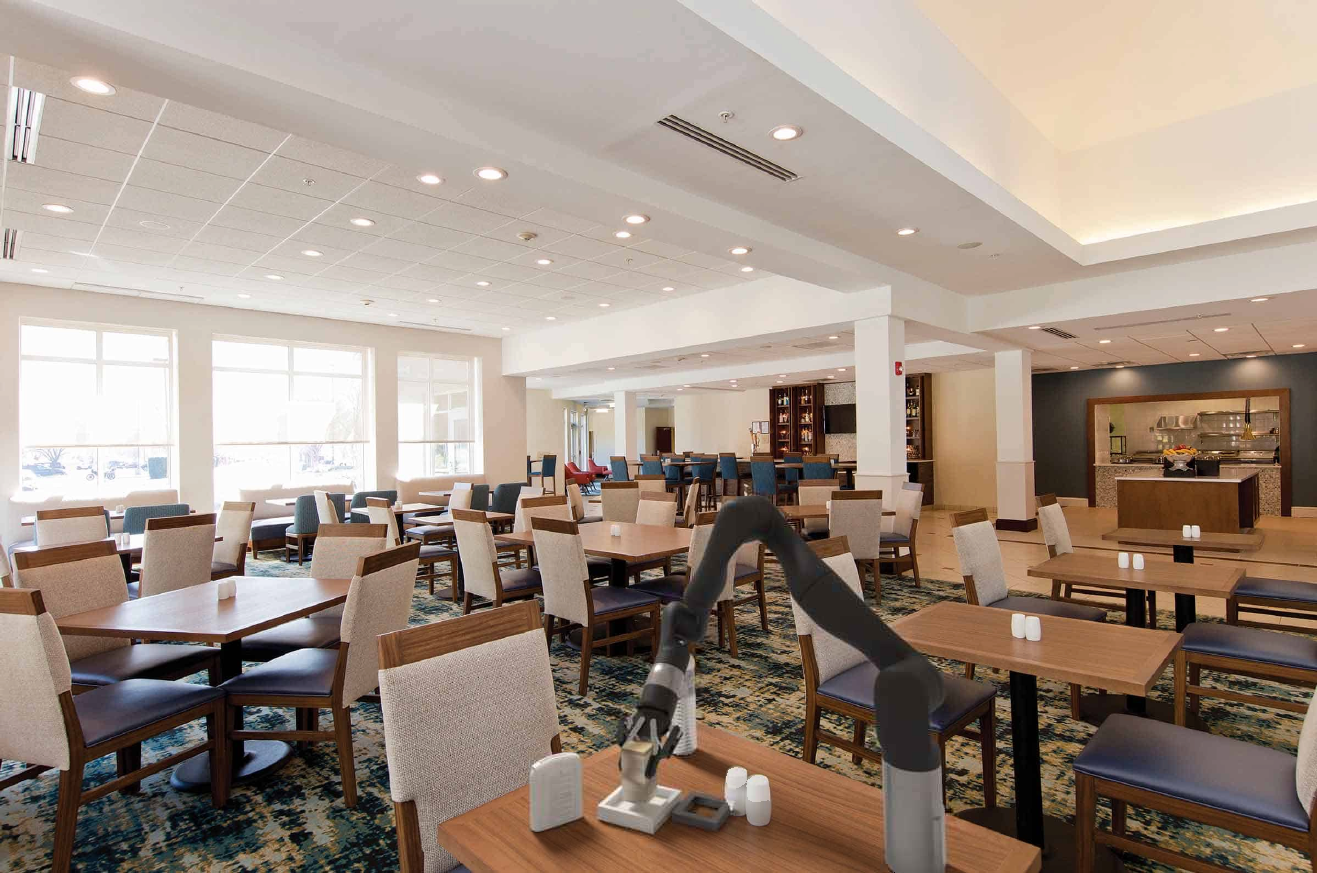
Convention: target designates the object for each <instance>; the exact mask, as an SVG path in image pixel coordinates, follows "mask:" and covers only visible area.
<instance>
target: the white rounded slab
mask: <svg viewBox="0 0 1317 873" xmlns="http://www.w3.org/2000/svg"><path fill="white" fill-rule="evenodd" d="M583 811H584V810H583V764H582V758H581V756H580V755H579V754H578V753H575V752H560V753H556V754H551V755H548V756H546V757H544V758H542V759H540V760H538V761H537V762H535V763H534V764H532V765H531V766H530V769H529V820H530V821H529V822H530V824H529V825H530V829H531V831H533V832H536V833H537V832H543V831H546V830H549V829H552V828H556V827H559V826H562V825H565V824H567V823H571V822H574V821H577V820H580V819H581V818H582V817H583Z"/></svg>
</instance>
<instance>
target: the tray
mask: <svg viewBox="0 0 1317 873" xmlns="http://www.w3.org/2000/svg"><path fill="white" fill-rule="evenodd" d="M682 792H683V791H682V790H680V789H676V788H672V787H668V786H664V785H663V786H662V785H659V784H657V795H656V796H655V797H654V798H653V799H652V800H651V801H650V802H649V803H648V804H647V805H646V806H642V805H638V804H634V803H630V802H626V801H622V784H621V785H620V786H619V787H617V788H616V789H615V790H614V791H612V793H610V794H609V795H608V796H607V797H605V798H604V799H603V800H602V801H601V802H600V803H598V805H597V806H596V808H597V809H596V811H597V812H596V814H597V815H596V816H597V820H600V821H602V820H603V822H607V823H609V824H615V825H618V826H622V827H625V828H629V827H630V828H629V829H633V830H637V831H641V832H643V833H648V834H651V835H654V834H656V832H657V831H658V830H659V829H660V827H662V826H663V824H664V823H665V822H666V821H667V820H668V819H669V818H670V817H672V812H673V810H674V809H675V808H676V807H677V806H678V805H679V804H680V803H681V802H682V801H683V794H682Z"/></svg>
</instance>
